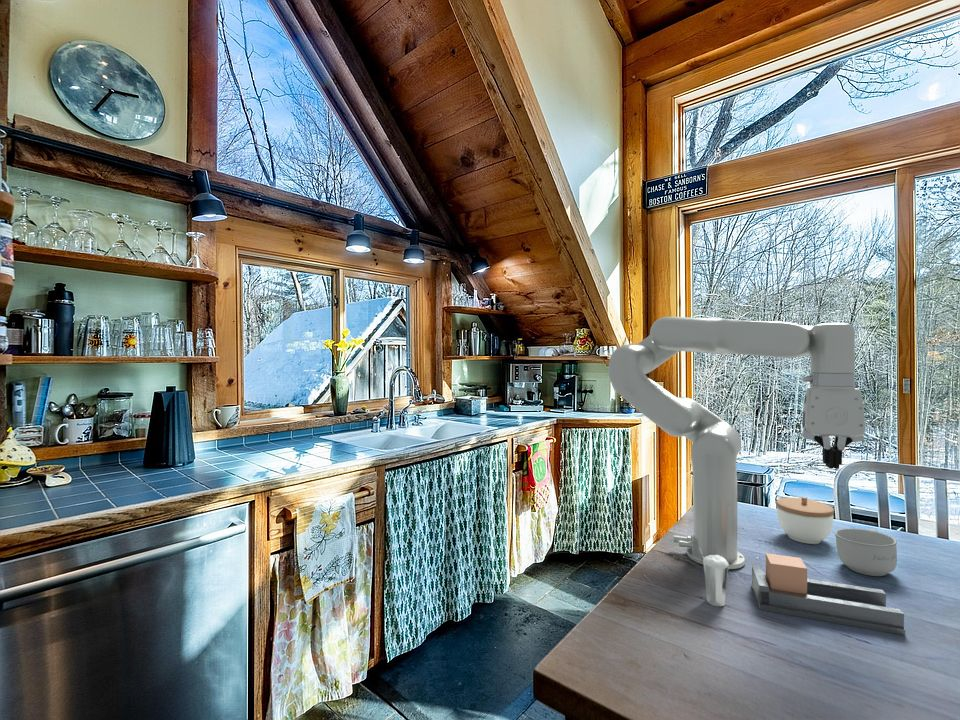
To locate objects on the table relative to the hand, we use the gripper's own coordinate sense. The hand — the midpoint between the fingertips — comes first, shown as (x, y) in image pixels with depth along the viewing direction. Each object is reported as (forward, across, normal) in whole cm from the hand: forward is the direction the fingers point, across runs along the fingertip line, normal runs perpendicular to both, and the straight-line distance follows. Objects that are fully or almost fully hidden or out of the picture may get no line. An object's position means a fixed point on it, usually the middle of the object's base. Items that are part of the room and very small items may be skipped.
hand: (832, 467), depth 99 cm
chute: (+25, -5, -12) cm, 28 cm away
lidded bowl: (+25, +1, +27) cm, 37 cm away
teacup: (+25, +10, +12) cm, 30 cm away
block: (+24, -11, -12) cm, 29 cm away
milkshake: (+25, -24, -17) cm, 39 cm away
